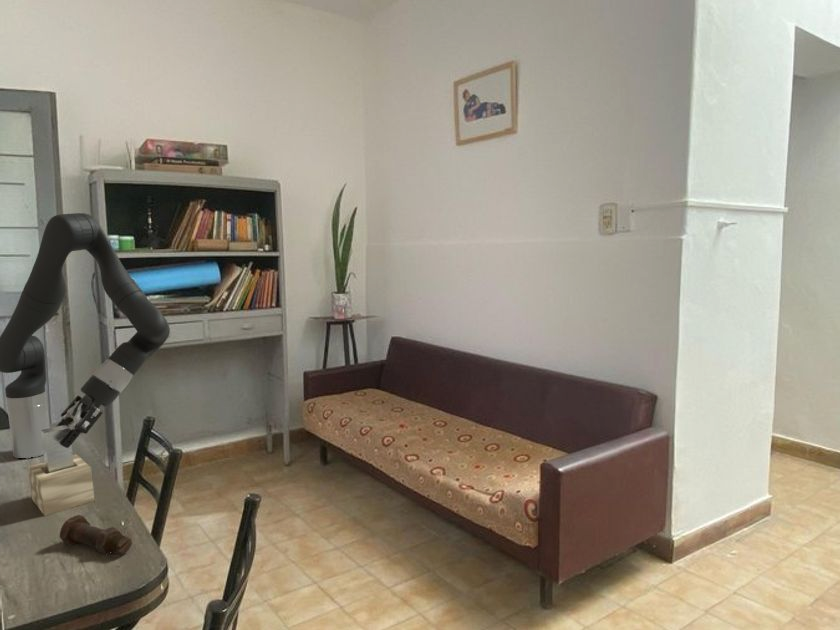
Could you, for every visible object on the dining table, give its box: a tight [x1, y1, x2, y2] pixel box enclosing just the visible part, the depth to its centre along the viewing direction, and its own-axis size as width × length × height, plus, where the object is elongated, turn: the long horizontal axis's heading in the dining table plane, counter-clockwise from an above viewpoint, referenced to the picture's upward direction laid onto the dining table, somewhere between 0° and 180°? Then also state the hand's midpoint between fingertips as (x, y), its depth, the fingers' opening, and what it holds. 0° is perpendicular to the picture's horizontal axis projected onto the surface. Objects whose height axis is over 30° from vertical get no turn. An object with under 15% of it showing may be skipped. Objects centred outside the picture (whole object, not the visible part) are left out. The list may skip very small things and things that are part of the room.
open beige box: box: [28, 454, 95, 517], centre depth 137 cm, size 12×10×8 cm
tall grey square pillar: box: [41, 425, 74, 474], centre depth 137 cm, size 4×5×14 cm
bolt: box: [59, 514, 133, 555], centre depth 116 cm, size 6×5×15 cm
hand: (58, 441), depth 136 cm, fingers open, 8 cm apart
